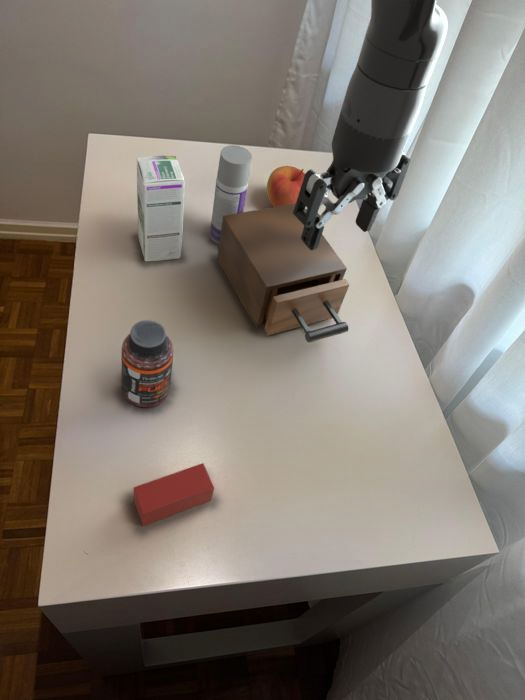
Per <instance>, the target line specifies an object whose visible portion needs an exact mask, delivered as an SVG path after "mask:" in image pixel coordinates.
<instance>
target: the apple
mask: <svg viewBox="0 0 525 700" xmlns="http://www.w3.org/2000/svg"><path fill="white" fill-rule="evenodd" d="M304 171H305V170H304V168H301V169H299V168H297V167H295V166H291V165H282V166H279V167H276V168H275V169H274V170H273V171H272V172H271V173H270V174H269V177H268V180H267V183H266V194H267V197H268V200H269V202H270V204H271V205H272V207H276V206H282V205H288V204H294V203H296V201H297V198H298V195H299V192H300V189H301V185H302V182H303V179H304V176H305V173H306V172H304Z"/></svg>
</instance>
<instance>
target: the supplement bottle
mask: <svg viewBox="0 0 525 700" xmlns="http://www.w3.org/2000/svg"><path fill="white" fill-rule="evenodd" d="M120 351H121V352H120V353H121V354H120V355H121V356H120V357H121V385H122V386H121V388H122V394H123V395H124V397H125V399H126V400H127V401H128V402H130V403H131V404H133V405H134V406H137V407H140V408H152V407H156V406H159V405H161V403H163V402H164V401H165V400H166V399H167V398H168V397H169V394H170V391H171V384H172V374H173V373H172V372H173V365H174V345H173V342H172V340H171V339H170V337H169V336H168V335H167V331H166V329H165V327H164V326H163V325H162V324H161V323H160V322H158V321H157V320H156V321H155V320H152V319H145V320H140V321H138V322H136V323H135V324H133V326H131V329H130V331H129V334H128V335H127V336H126V337H125V338H124V340H123V341H122V345H121V350H120Z"/></svg>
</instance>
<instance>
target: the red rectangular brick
mask: <svg viewBox="0 0 525 700" xmlns="http://www.w3.org/2000/svg"><path fill="white" fill-rule="evenodd" d="M214 490H215V487H214V484H213V481H212V479H211V476H210V475H209V473H208V471H207V468H206V466H205V463H199V464H196V465H194V466H191V467H188V468H185V469H182V470H179V471H177V472H174V473H171V474H168V475H165V476H161V477H158V478H156V479H154V480H150V481H148V482H144V483H142V484H139V485H137V486H134V487H133V501H134V506H135V508H136V511H137V513H138V516H139V519H140V522H141V525H142V526H143V527H144V526H147V525H150V524H153V523H155V522H159V521H160V520H164V519H165V518H166V519H167V518H168V517H171V516H174V515H176V514H179V513H182V512H184V511H187V510H189V509H193V508H195V507H197V506H200V505H203V504H206V503H208V502H211V501H212V499H213V495H214Z"/></svg>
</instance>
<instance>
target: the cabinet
mask: <svg viewBox="0 0 525 700" xmlns="http://www.w3.org/2000/svg"><path fill="white" fill-rule="evenodd" d="M295 205H296V203H294V204H288V205H282V206H276V207H274V206H272V207H266V208H261V209H260V208H259V209H255V210H248V211H243V212H242V213H236V214H231V215H225V216H223V221H222V228H221V235H220V242H219V244H218V250H217V257H216V260H217V262H218V264H219V265H220V267H221V269H222V271H223V272H224V275H225V276H226V278H227V280H228V281H229V283H230V285H231V286H232V289H233V291H234V292H235V294H236V295H237V297H238V299H239V301H240V302H241V304H242V306H243V308H244V309H245V311H246V313H247V315H248V316H249V318H250V320H251V322H252V323H253V325H254V327H255V329H256V330H258V329H261V328H265V325H266V321H267V319H265V318H264V315H265V311H266V307H267V303H268V299H269V295H270V291H271V290H273V289H277V288H281V287H285V286H290V285H294V284H298V283H302V282H307V281H311V280H315V279H319V278H323V277H328V276H332V275H336V276H335V278H334V281H333V282H335V281H339V280H343V279H344V278H345V274H346V272H347V270H348V267H347V266H346V265H345V263H344V262H343V261H342V260H341V258H340V257H339V255H338V254H337V253H336V251H335V250H334V248H333V247H332V246H331V244H330V242H328V240H327V239H326V238H325V236H324V235H323V234H322V236H321V239H320V242H319V245H318V248H317V249H315V250H310V249H309V248H308V247H307V246H306V245H305V244H304V242H303V241H302V240H301V235H302V232H303V228H304V225H303V224H302V223H301V222H300V221H299V220H298V219H297V217H296V216H295V215H294V214H293V211H294V208H295Z"/></svg>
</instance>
